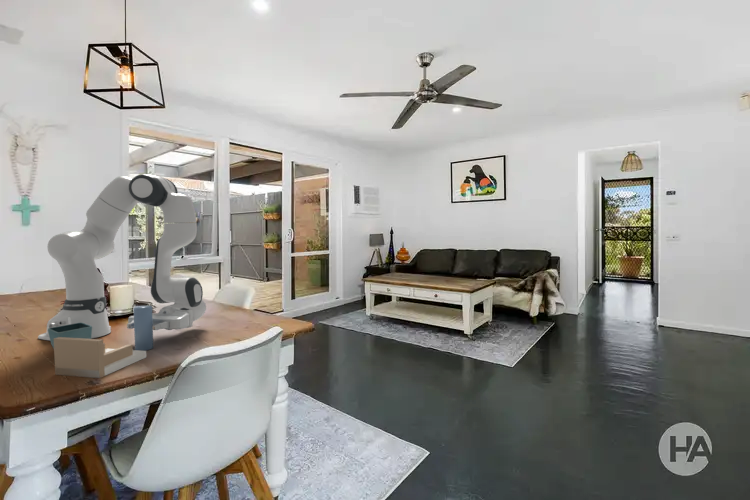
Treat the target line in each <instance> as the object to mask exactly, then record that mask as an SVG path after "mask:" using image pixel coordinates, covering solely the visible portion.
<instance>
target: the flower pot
mask: <svg viewBox="0 0 750 500" xmlns="http://www.w3.org/2000/svg"><path fill="white" fill-rule="evenodd" d="M48 333H49V337H50V340H49V341H50V344H51V347H52V349H54V338H58V337H67V338H85V339H92V338H91V335H92V326H91V325H87V324H85V323H81V322H80V323H75V324H69V325H64V326H59V327H53V328H48Z"/></svg>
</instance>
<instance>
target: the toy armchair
mask: <svg viewBox="0 0 750 500" xmlns="http://www.w3.org/2000/svg"><path fill="white" fill-rule="evenodd" d="M53 355H54V374H55V375H56V376H68V377H81V378H82V377H83V378H96V379H100V378H103V377H105V376H107V375H109V374H112V373H114V372H116V371H119V370H121V369H123V368H125V367H128V366H129V365H132V364H134V363H137V362H139V361H141V360H143V359H145V358H146V359H147V350H146V351H140V350H135V349H133V344H125V345H123V346H121V347H117V348H109V347H108V348H106V342H104V339H100V338H99V339H98V338H91V339H85V338H67V337H58V338H54V348H53Z"/></svg>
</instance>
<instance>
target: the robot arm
mask: <svg viewBox="0 0 750 500" xmlns="http://www.w3.org/2000/svg"><path fill="white" fill-rule="evenodd" d="M138 203H141V204H144V205H148V206H152V207H156V208H157V207H159V208H160V210H161V212H162V216H163V232H162V234H161V237H160V238H158V240H157V243H156V247H155V255H154V267H153V268H154V269H153V277H152V278H153V280H152V282H151V285H150V295H151V297H152V299H153V300H154V301H155V302H156V303H158V304H169V305H166V306H163V307H162V308H160V310H159V311H158V312H157V313H156V312H152V317H153V326H152V327H153V328H152V329H153V331H159V330H167V331H172V330H173V331H174V330H175V331H176V330H177V331H178V330H183V329H188V328H191V327H193V324H194V322H195V321H197V320H199V319H200V318H202V317H203V316H204V315H205V313H206V311H207V305H206V302H205V300H203V295H204V294H203V293H204V292H203V287H202V285H201V282H200V281H199V280H198V279H197V278H195V277H172V276H171V270H172V269H171V268H172V259H173V256H174V254H175V252H176V251H178V250H180V249H182V248H184V247H186V246H189V245H190V244H191V243H193V241H194V240H195V239H196V237H197V234H198V233H197V232H198V228H197V216H196V209H195V206H194V201H193V199H192V198H191V197H190V196H189V195H186V194H183V193H178V187H177V186H176V184H175V183H174V182H172V181H171V180H170V179H168V178H165V177H162V176H160V175H155V174H148V173H141V174H138V175H136V176H134V177H128V176H126V175H125V176H123V175H121V176H117V177H115V178H114V179H113V180H112V181H110V182H109V183H108V184H107V185H106V187H104V188H103V189H102V191H101V192H100V193H99V195H98V196H97V197H96V198H95V200H94V201H93V202H92V204H91V205H90V206H89V208H88V209H87V210H86V213H85V216H86V218H87V219H86V222H85V226H84V227H83V229H81V230H80V231H79V230H78V231H65V232H61V233H59V234H55V235H54V236H52V237H51V238H50V240H49V241H48V243H47V252H48V254H49V255H50V256H51V258H53V259H54V260H55V261H56V263H58V265H59V267H60V269H61V272H62V274H63V278H64V284H65V297H66V298H65V299H64V300H61V301H60V305H63V306H62V307H61V308H62V310H60V311H59V312H58V313H56V315H54V316H53V317H51V318H50V319H49V320H48V321H47V324H46V331H45V332H44V333H40V334H38V336H37V339H39V340H44V341H50V337H49V333H48V328H53V327H59V326H64V325H69V324H75V323H80V322H81V323H85V324H87V325H91V326H92V335H91V339H97V338H99V337H104V336H106V335H109V334H110V333H111V332H112V330H111V329H112V326H111V325H110V323H109V318H108V317H109V316H108V310H107V308H106V306H107V297H106V296H105V283H104V281H105V279H104V275H103V274H102V273H101V272H100V271H99V270H98V267H97V265H96V262H95V261H96V260H100V259H103V258H105V257H107V256H109V255H110V254H111V253H112V252H113V251H114V249H115V242H114V241H115V237H116V235H117V233H118V231H119V229H120V228H121V226H122V225H123V223H124V222H125V220H126V219H127V218H128V216H129V215H130V214H131V212H132V211H133V209H134V208H135V206H136V205H137V204H138ZM170 303H172V304H170ZM127 322H128V323H127V324H126V328H127V329H129V330H131V329H133V330H134V315H130V316H129V317H128V321H127Z"/></svg>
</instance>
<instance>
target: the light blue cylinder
mask: <svg viewBox="0 0 750 500" xmlns="http://www.w3.org/2000/svg"><path fill="white" fill-rule="evenodd" d="M152 313H153V305H138V306H135V307H133V316H134V328H133V333H134V350H140V351H146V352H147V351H149V350H152V349H154V332H153V331H154V330H153V329H152V328H153V327H152V326H153V317H152Z"/></svg>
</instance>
